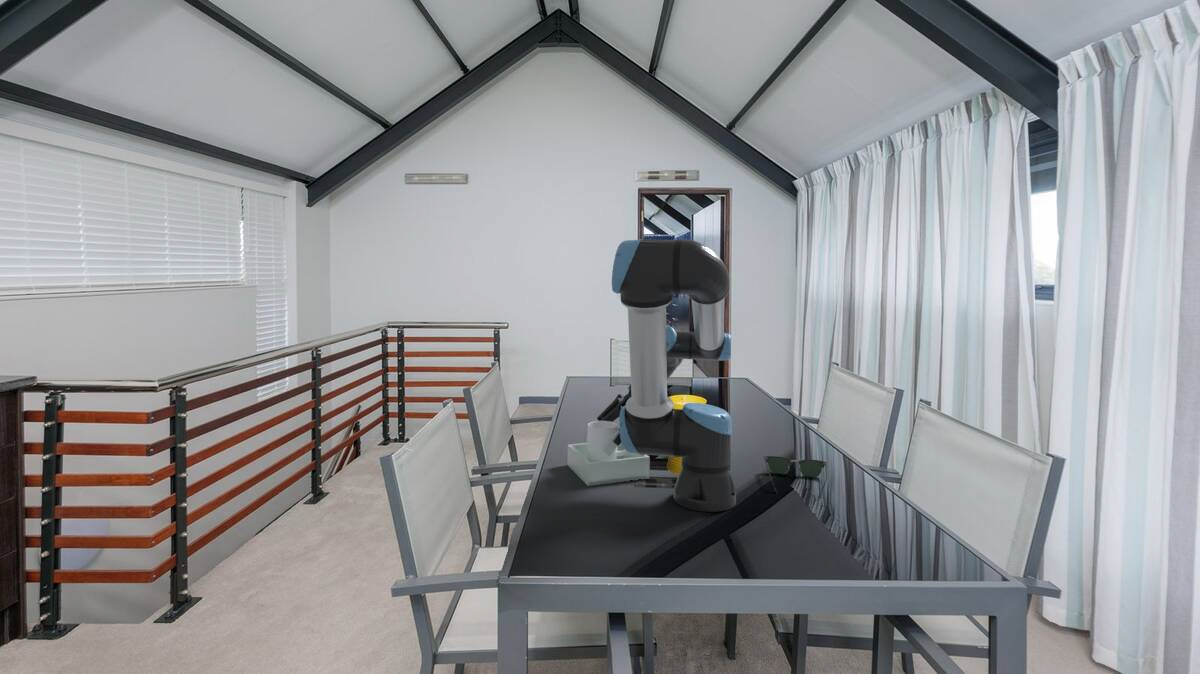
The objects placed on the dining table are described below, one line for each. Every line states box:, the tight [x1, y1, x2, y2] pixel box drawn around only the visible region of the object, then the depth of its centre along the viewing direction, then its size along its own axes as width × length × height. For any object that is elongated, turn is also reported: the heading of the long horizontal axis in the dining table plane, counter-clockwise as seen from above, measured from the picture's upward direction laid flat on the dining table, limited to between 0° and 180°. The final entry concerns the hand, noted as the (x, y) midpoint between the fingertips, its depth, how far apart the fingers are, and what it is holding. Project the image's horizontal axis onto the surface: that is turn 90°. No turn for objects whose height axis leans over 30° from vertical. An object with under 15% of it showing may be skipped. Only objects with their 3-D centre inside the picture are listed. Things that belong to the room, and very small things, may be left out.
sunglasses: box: [763, 455, 828, 499], centre depth 156 cm, size 16×17×5 cm
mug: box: [587, 420, 628, 462], centre depth 162 cm, size 12×8×10 cm
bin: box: [566, 442, 651, 487], centre depth 164 cm, size 18×18×6 cm
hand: (597, 448), depth 162 cm, fingers closed on mug, 8 cm apart
